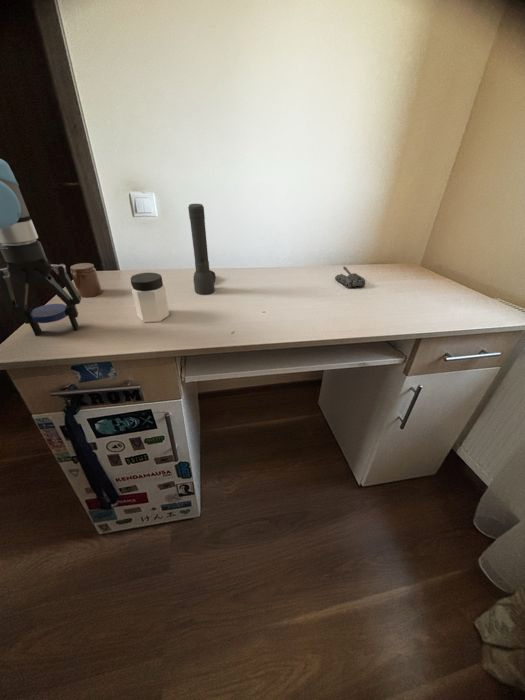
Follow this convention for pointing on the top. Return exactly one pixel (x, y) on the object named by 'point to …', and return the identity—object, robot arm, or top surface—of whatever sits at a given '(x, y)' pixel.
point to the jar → (149, 297)
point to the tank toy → (350, 279)
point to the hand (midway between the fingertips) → (57, 330)
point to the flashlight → (200, 251)
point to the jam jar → (86, 280)
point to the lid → (48, 313)
